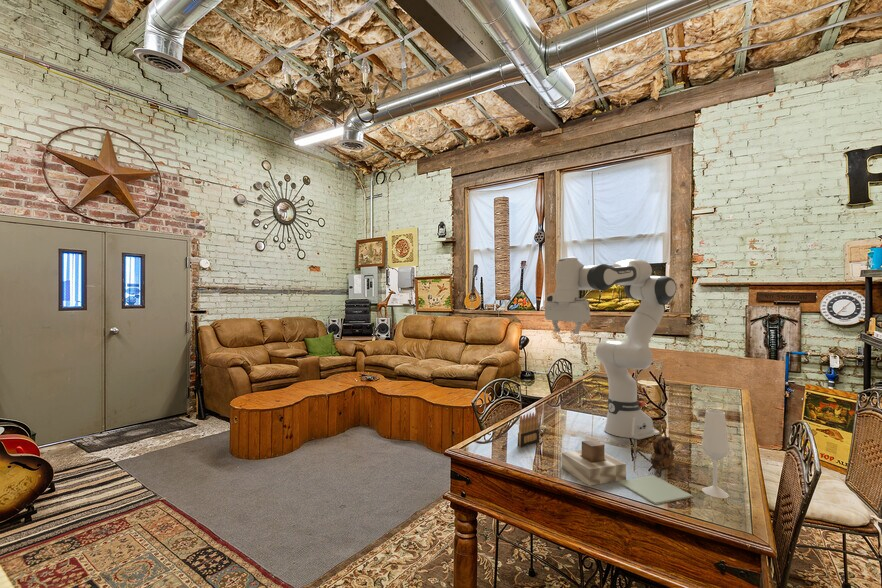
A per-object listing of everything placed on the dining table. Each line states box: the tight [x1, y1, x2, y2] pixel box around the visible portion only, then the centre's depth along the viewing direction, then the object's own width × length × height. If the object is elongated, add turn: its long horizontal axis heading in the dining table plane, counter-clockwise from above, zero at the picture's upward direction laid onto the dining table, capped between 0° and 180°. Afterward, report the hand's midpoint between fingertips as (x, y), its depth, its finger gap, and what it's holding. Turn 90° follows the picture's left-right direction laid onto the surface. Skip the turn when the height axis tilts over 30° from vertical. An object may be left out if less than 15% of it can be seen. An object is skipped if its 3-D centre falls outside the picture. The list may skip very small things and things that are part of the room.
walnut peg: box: [581, 439, 606, 463], centre depth 132 cm, size 5×5×10 cm
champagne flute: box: [701, 409, 730, 499], centre depth 120 cm, size 7×7×24 cm
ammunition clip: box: [517, 411, 540, 448], centre depth 159 cm, size 11×2×12 cm, turn 126°
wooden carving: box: [650, 435, 676, 471], centre depth 138 cm, size 16×5×10 cm, turn 137°
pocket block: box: [561, 449, 627, 487], centre depth 132 cm, size 14×14×5 cm
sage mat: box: [617, 474, 693, 505], centre depth 121 cm, size 14×14×1 cm
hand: (566, 332), depth 159 cm, fingers open, 8 cm apart
